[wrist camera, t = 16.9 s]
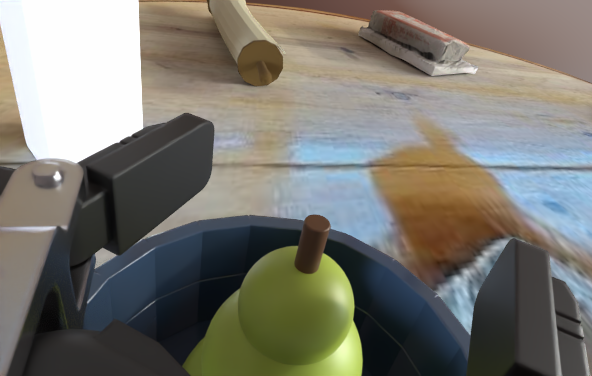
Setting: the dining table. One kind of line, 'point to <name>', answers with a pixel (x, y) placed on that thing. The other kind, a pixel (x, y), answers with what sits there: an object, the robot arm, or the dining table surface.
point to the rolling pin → (247, 42)
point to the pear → (285, 317)
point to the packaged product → (417, 43)
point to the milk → (74, 73)
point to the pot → (230, 275)
